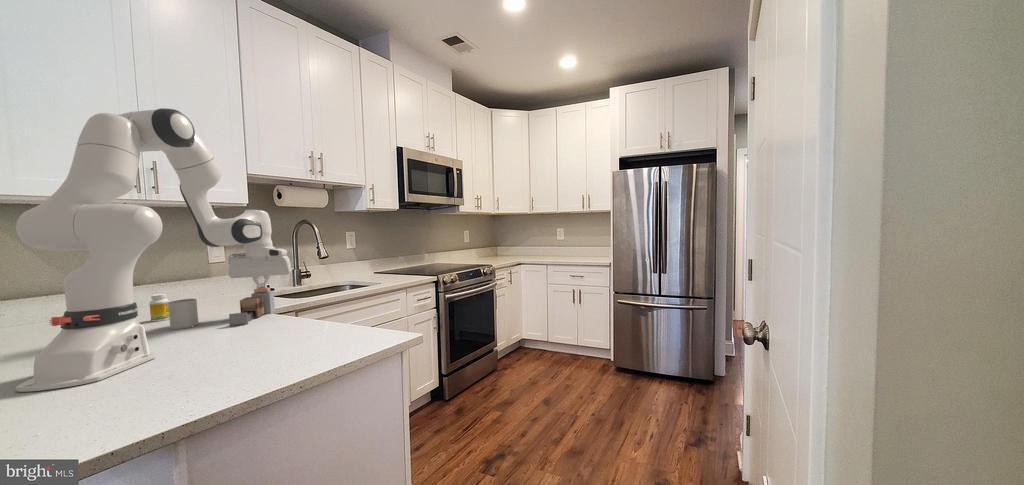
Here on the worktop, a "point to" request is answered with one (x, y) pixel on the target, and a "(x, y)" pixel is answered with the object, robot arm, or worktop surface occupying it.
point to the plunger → (261, 290)
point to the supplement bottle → (159, 308)
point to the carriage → (252, 305)
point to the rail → (241, 317)
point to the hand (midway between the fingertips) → (262, 288)
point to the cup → (183, 313)
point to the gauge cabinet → (267, 301)
